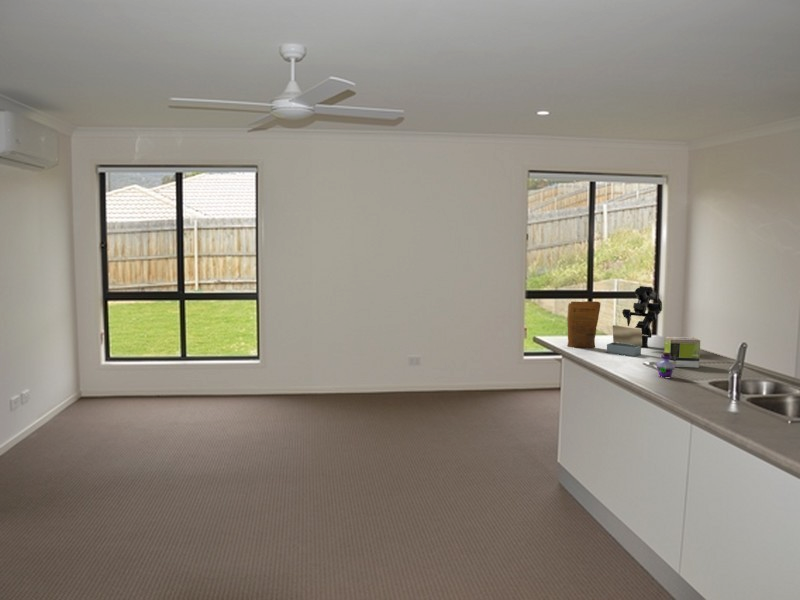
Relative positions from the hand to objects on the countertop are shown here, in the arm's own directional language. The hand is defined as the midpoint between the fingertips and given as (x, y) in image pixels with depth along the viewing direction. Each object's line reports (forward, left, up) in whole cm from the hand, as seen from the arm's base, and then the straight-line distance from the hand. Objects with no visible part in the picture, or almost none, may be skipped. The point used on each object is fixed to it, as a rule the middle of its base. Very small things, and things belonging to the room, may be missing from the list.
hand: (636, 326), depth 372 cm
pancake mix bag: (+6, -30, -14) cm, 33 cm away
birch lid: (+11, -5, -4) cm, 13 cm away
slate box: (+15, -6, -14) cm, 21 cm away
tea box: (+35, +23, -14) cm, 44 cm away
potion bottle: (+68, +15, -14) cm, 71 cm away
